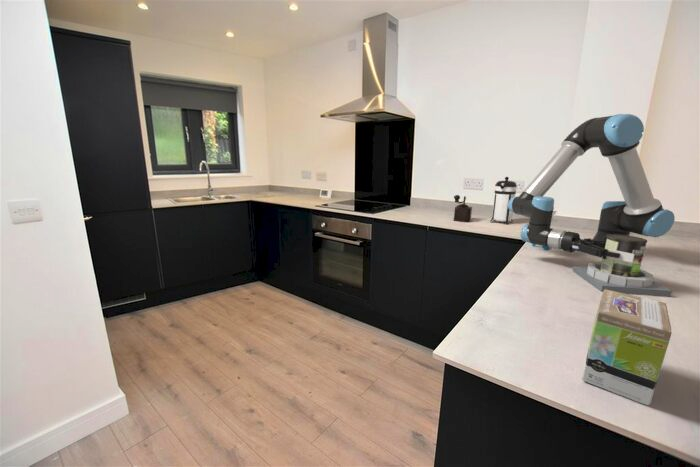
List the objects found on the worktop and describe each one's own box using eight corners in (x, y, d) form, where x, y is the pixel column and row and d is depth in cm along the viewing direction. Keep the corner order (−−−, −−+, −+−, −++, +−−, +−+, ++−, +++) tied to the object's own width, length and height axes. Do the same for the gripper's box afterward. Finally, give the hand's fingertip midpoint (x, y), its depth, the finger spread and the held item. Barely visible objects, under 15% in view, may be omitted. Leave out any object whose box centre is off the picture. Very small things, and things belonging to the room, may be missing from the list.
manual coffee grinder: (454, 218, 222) (456, 192, 218) (471, 219, 217) (474, 193, 213) (451, 222, 209) (453, 195, 204) (468, 224, 204) (471, 196, 199)
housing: (629, 275, 116) (632, 263, 115) (670, 296, 98) (673, 283, 97) (572, 271, 120) (574, 259, 118) (601, 291, 101) (603, 278, 100)
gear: (543, 248, 144) (531, 229, 149) (532, 254, 149) (521, 236, 153) (556, 247, 150) (544, 230, 155) (545, 254, 154) (533, 236, 159)
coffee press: (519, 224, 202) (526, 177, 195) (494, 224, 203) (500, 177, 196) (507, 219, 219) (512, 175, 212) (484, 219, 219) (489, 175, 212)
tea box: (652, 408, 54) (673, 331, 50) (580, 381, 60) (595, 311, 57) (649, 367, 65) (667, 300, 61) (589, 347, 71) (602, 286, 68)
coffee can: (644, 280, 106) (654, 239, 102) (626, 284, 102) (636, 242, 98) (609, 270, 115) (617, 233, 112) (591, 273, 111) (600, 234, 108)
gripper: (575, 245, 128) (647, 260, 110) (548, 254, 115) (624, 273, 97) (579, 227, 126) (652, 239, 108) (551, 234, 113) (629, 249, 96)
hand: (639, 255), depth 103 cm, fingers open, 10 cm apart
